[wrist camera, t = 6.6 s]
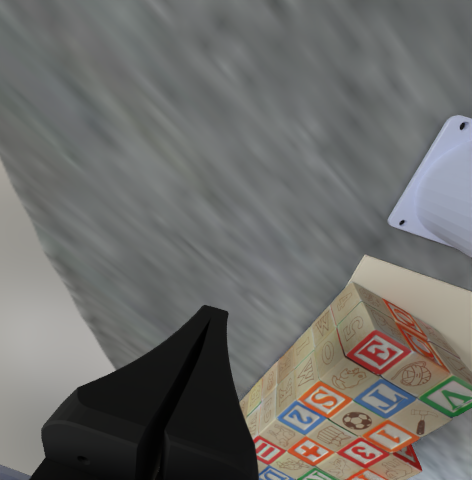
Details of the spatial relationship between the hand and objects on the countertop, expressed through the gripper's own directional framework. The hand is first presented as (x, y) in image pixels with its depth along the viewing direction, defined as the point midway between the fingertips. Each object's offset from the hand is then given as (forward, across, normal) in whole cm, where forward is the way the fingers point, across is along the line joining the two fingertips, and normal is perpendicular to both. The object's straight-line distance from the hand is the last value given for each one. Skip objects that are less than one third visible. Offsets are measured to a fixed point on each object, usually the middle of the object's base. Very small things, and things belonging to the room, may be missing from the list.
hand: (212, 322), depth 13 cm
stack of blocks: (+7, -7, +11) cm, 14 cm away
